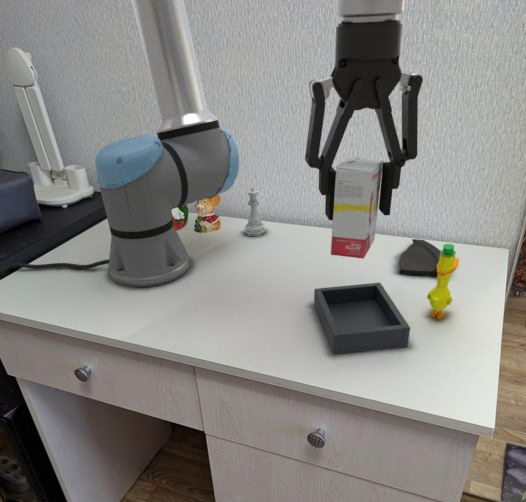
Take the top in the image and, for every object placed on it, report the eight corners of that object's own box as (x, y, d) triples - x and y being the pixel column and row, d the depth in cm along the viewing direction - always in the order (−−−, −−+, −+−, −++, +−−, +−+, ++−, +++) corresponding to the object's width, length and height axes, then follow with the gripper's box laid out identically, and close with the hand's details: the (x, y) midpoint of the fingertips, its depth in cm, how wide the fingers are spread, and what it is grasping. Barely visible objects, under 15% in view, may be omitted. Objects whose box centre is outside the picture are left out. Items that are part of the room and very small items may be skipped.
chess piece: (248, 228, 112) (245, 183, 106) (267, 229, 110) (265, 184, 105) (242, 235, 108) (239, 190, 102) (261, 237, 107) (259, 191, 101)
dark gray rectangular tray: (333, 354, 71) (333, 335, 69) (313, 306, 82) (314, 288, 80) (407, 346, 71) (410, 327, 69) (378, 299, 83) (380, 282, 81)
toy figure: (435, 302, 81) (448, 233, 74) (457, 308, 79) (472, 238, 72) (419, 320, 77) (430, 249, 70) (441, 327, 75) (455, 254, 68)
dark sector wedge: (445, 248, 98) (446, 240, 97) (445, 278, 88) (446, 270, 87) (402, 244, 100) (403, 237, 99) (397, 274, 90) (398, 266, 89)
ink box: (363, 260, 67) (372, 170, 61) (329, 255, 69) (333, 167, 63) (376, 240, 74) (384, 157, 68) (344, 237, 76) (349, 155, 70)
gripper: (288, 25, 53) (291, 230, 66) (468, 14, 54) (436, 217, 67) (278, 23, 59) (282, 211, 72) (440, 13, 60) (416, 199, 73)
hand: (357, 214), depth 70 cm, fingers open, 7 cm apart
